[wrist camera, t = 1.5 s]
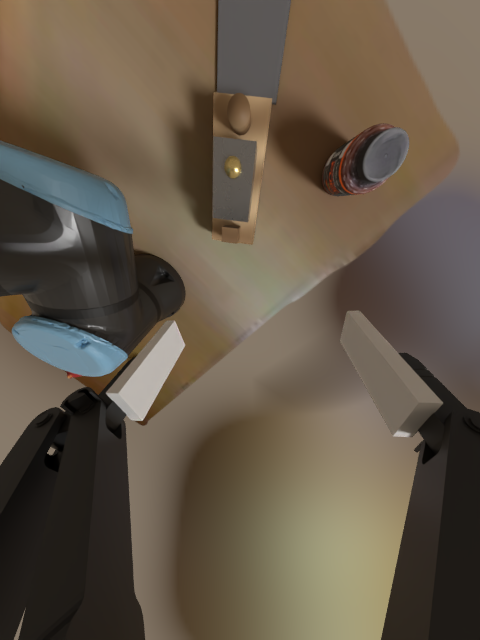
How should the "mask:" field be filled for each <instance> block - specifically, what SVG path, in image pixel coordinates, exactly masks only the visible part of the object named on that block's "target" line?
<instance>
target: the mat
mask: <svg viewBox="0 0 480 640" xmlns="http://www.w3.org/2000/svg"><path fill="white" fill-rule="evenodd" d="M290 3H291V0H219V3H218V65H217V92H218V93H227V94H236V93H242V94H244V95H246V96H255V97H264V98H272V104H276V100H277V93H278V86H279V79H280V72H281V65H282V58H283V51H284V44H285V37H286V30H287V24H288V17H289V10H290Z"/></svg>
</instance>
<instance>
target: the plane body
mask: <svg viewBox="0 0 480 640" xmlns="http://www.w3.org/2000/svg"><path fill="white" fill-rule="evenodd" d="M271 106H272V98H264V97H255V96H246V95H244V94H242V93H236V94H227V93H218V92H213V136H215V137H224V138H233V139H241V140H250V141H257V150H258V151H257V160H256V168H255V177H254V185H253V194H252V203H251V211H250V220H249V221H248V222H241V221H233V220H225V219H217V218H213V200H212V239H214V240H221V241H222V242H229V243H244V244H253V240H254V233H255V226H256V218H257V211H258V204H259V196H260V189H261V182H262V174H263V167H264V160H265V152H266V145H267V138H268V130H269V123H270V116H271Z"/></svg>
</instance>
